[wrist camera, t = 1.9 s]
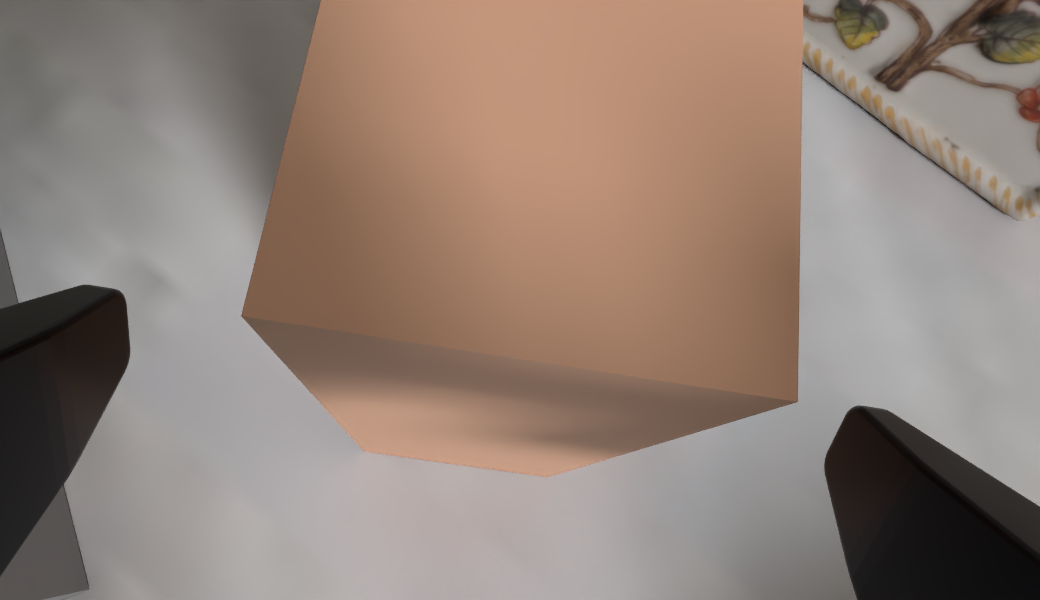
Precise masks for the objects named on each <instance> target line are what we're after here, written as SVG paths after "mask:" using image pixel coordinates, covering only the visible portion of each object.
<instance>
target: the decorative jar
mask: <svg viewBox="0 0 1040 600" xmlns="http://www.w3.org/2000/svg"><path fill="white" fill-rule="evenodd" d="M802 62H803V63H805V64H806V65H807V66H808V67H810V68H811V69H812V70H813V71H815V72H816V73H818V74H819V75H820V76H821V77H823V78H824V79H825V80H827V81H828V82H829V83H831V84H832V85H833V86H835V87H836V88H837V89H838V90H840V91H841V92H842V93H844V94H845V95H846V96H848V97H849V98H851V99H852V100H853V101H855V102H856V103H857V104H859V105H860V106H862V107H863V108H864V109H865V110H866V111H868V112H869V113H871V114H872V115H874V116H875V117H876V118H877V119H878V120H879V121H881V122H882V123H883V124H885V125H886V126H887V127H889V128H890V129H891V130H892V131H894V132H895V133H897V134H898V135H900V136H901V137H902V138H903V139H904V140H905V141H906V142H907V143H908V144H910V145H911V146H913V147H914V148H916V149H917V150H918V151H920V152H921V153H922V154H923V155H925V156H926V157H928V158H929V159H931V160H933V161H934V162H936V163H937V164H938V165H939V166H941V167H942V168H944V169H945V170H946V171H948V172H949V173H950V174H952V175H953V176H954V177H956V178H957V179H958V180H960V181H961V182H963V183H964V184H965V185H967V186H968V187H970V188H971V189H972V190H974V191H975V192H977V193H978V194H979V195H981V196H982V197H984V198H985V199H987V200H988V201H989V202H990V203H991V204H993V205H994V206H995V207H996V208H997V209H999V210H1000V211H1002V212H1003V213H1005V214H1007V215H1009V216H1010V217H1012V218H1013V219H1015V220H1017V221H1022V220H1026V219H1029V218H1032V217H1034V216H1037V215H1039V214H1040V0H803V57H802Z"/></svg>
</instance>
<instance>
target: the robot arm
mask: <svg viewBox="0 0 1040 600" xmlns="http://www.w3.org/2000/svg"><path fill="white" fill-rule="evenodd" d="M129 358H130V340H129V328H128V316H127V305H126V300H125V297H124V295H123V294H122V293H121V292H120V291H119V290H117V289H112V288H106V287H100V286H93V285H80V286H77V287H73V288H70V289H66V290H63V291H59V292H56V293H53V294H49V295H46V296H42V297H39V298H35V299H32V300H29V301H25V302H22V303H18V304H15V305H11V306H8V307H5V308H1V309H0V577H1V575H2V574H3V573H4V571H5V570H6V568H7V567H8V565H9V564H10V562H11V561H12V559H13V558H14V556H15V555H16V554H17V552H18V551H19V549H20V548H21V546H22V545H23V543H24V542H25V540H26V539H27V538H28V536H29V535H30V533H31V532H32V530H33V529H34V527H35V526H36V524H37V523H38V522H39V520H40V519H41V517H42V516H43V514H44V513H45V511H46V510H47V508H48V507H49V506H50V504H51V503H52V501H53V500H54V498H55V497H56V495H57V494H58V492H59V491H60V489H61V488H62V486H63V485H64V483H65V482H66V480H67V479H68V477H69V475H70V474H71V472H72V470H73V469H74V467H75V465H76V463H77V462H78V460H79V458H80V456H81V454H82V452H83V450H84V449H85V447H86V445H87V443H88V441H89V439H90V437H91V435H92V433H93V431H94V430H95V428H96V426H97V424H98V422H99V420H100V418H101V416H102V414H103V412H104V411H105V409H106V407H107V405H108V403H109V401H110V399H111V397H112V395H113V393H114V391H115V390H116V388H117V386H118V384H119V382H120V380H121V378H122V376H123V374H124V372H125V370H126V368H127V365H128V362H129ZM824 469H825V476H826V481H827V485H828V489H829V493H830V497H831V501H832V506H833V510H834V514H835V518H836V522H837V527H838V531H839V535H840V539H841V543H842V547H843V552H844V556H845V560H846V564H847V567H848V571H849V575H850V578H851V582H852V585H853V588H854V591H855V594H856V597H857V600H1040V506H1038V505H1036V504H1035V503H1033V502H1032V501H1030V500H1028V499H1027V498H1025V497H1024V496H1022V495H1021V494H1019V493H1017V492H1016V491H1014V490H1013V489H1011V488H1010V487H1008V486H1006V485H1005V484H1003V483H1002V482H1000V481H999V480H997V479H995V478H994V477H992V476H991V475H989V474H988V473H986V472H984V471H983V470H981V469H980V468H978V467H976V466H975V465H973V464H972V463H970V462H969V461H967V460H965V459H964V458H962V457H961V456H959V455H958V454H956V453H954V452H953V451H951V450H950V449H948V448H947V447H945V446H943V445H942V444H940V443H939V442H937V441H936V440H934V439H932V438H931V437H929V436H928V435H926V434H924V433H923V432H921V431H920V430H918V429H917V428H915V427H913V426H912V425H910V424H909V423H907V422H906V421H904V420H902V419H901V418H899V417H898V416H896V415H895V414H893V413H891V412H890V411H888V410H884V409H880V408H873V407H867V406H855V407H853V408H851V409H850V410H849V411H848V412H847V414H846V415H845V417H844V419H843V421H842V423H841V425H840V427H839V430H838V432H837V434H836V436H835V438H834V440H833V442H832V444H831V446H830V448H829V450H828V452H827V454H826V458H825V464H824Z"/></svg>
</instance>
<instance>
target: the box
mask: <svg viewBox="0 0 1040 600" xmlns="http://www.w3.org/2000/svg"><path fill="white" fill-rule="evenodd" d="M15 304H18V301H17V297H16V293H15V289H14V285H13V281H12V277H11V273H10V269H9V265H8V261H7V257H6V253H5V249H4V245H3V241H2V237H1V233H0V309H1V308H5V307H8V306H11V305H15ZM86 590H89V587H88V583H87V579H86V575H85V571H84V567H83V563H82V559H81V555H80V551H79V547H78V542H77V538H76V534H75V530H74V526H73V522H72V518H71V514H70V510H69V506H68V502H67V498H66V494H65V490H64V486H62V488H61V489H60V491H59V492H58V494H57V495H56V497H55V498H54V500H53V501H52V503H51V504H50V506H49V507H48V508H47V510H46V511H45V513H44V514H43V516H42V517H41V519H40V520H39V522H38V523H37V524H36V526H35V527H34V529H33V530H32V532H31V533H30V535H29V536H28V538H27V539H26V540H25V542H24V543H23V545H22V546H21V548H20V549H19V551H18V552H17V554H16V555H15V556H14V558H13V559H12V561H11V562H10V564H9V565H8V567H7V568H6V570H5V571H4V573H3V574H2V575H1V577H0V600H64V599H66V598H69V597H71V596H74V595H76V594H79V593H81V592H84V591H86Z"/></svg>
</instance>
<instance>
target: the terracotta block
mask: <svg viewBox="0 0 1040 600" xmlns="http://www.w3.org/2000/svg"><path fill="white" fill-rule="evenodd" d="M802 57H803V0H321V2H320V6H319V10H318V14H317V18H316V22H315V26H314V30H313V34H312V38H311V42H310V46H309V50H308V54H307V58H306V62H305V66H304V70H303V74H302V78H301V82H300V86H299V89H298V93H297V97H296V101H295V105H294V109H293V113H292V117H291V121H290V125H289V129H288V133H287V137H286V141H285V145H284V149H283V153H282V157H281V161H280V165H279V169H278V173H277V177H276V181H275V184H274V188H273V192H272V196H271V200H270V204H269V208H268V212H267V216H266V220H265V224H264V228H263V232H262V236H261V240H260V244H259V248H258V252H257V256H256V260H255V264H254V268H253V272H252V275H251V279H250V283H249V287H248V291H247V295H246V299H245V303H244V307H243V311H242V315H241V316H242V317H243V318H244V319H245V321H246V322H247V323H248V324H249V325H250V326H251V327H252V328H253V329H254V330H255V332H256V333H257V334H258V335H259V336H260V337H261V338H262V339H263V340H264V342H265V343H266V344H267V345H268V346H269V347H270V348H271V349H272V350H273V351H274V353H275V354H276V355H277V356H278V357H279V358H280V359H281V360H282V361H283V362H284V364H285V365H286V366H287V367H288V368H289V369H290V370H291V371H292V372H293V374H294V375H295V376H296V377H297V378H298V379H299V380H300V381H301V382H302V383H303V385H304V386H305V387H306V388H307V389H308V390H309V391H310V392H311V393H312V394H313V396H314V397H315V398H316V399H317V400H318V401H319V402H320V403H321V404H322V405H323V407H324V408H325V409H326V410H327V411H328V412H329V413H330V414H331V415H332V417H333V418H334V419H335V420H336V421H337V422H338V423H339V424H340V425H341V426H342V428H343V429H344V430H345V431H346V432H347V433H348V434H349V435H350V436H351V437H352V439H353V440H354V441H355V442H356V443H357V444H358V445H359V446H360V447H361V449H362V450H363V451H365V452H373V453H380V454H387V455H394V456H401V457H408V458H415V459H422V460H429V461H436V462H444V463H451V464H458V465H465V466H472V467H479V468H486V469H493V470H500V471H507V472H515V473H522V474H529V475H536V476H543V477H550V476H553V475H556V474H560V473H563V472H566V471H570V470H573V469H576V468H580V467H583V466H586V465H590V464H593V463H596V462H600V461H603V460H606V459H610V458H613V457H616V456H620V455H623V454H626V453H630V452H633V451H636V450H640V449H643V448H646V447H650V446H653V445H656V444H659V443H663V442H666V441H669V440H673V439H676V438H679V437H683V436H686V435H689V434H693V433H696V432H699V431H703V430H706V429H709V428H713V427H716V426H719V425H723V424H726V423H729V422H733V421H736V420H739V419H743V418H746V417H749V416H753V415H756V414H759V413H762V412H766V411H769V410H772V409H776V408H779V407H782V406H786V405H789V404H792V403H796V402H798V344H799V273H800V201H801V129H802Z"/></svg>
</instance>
